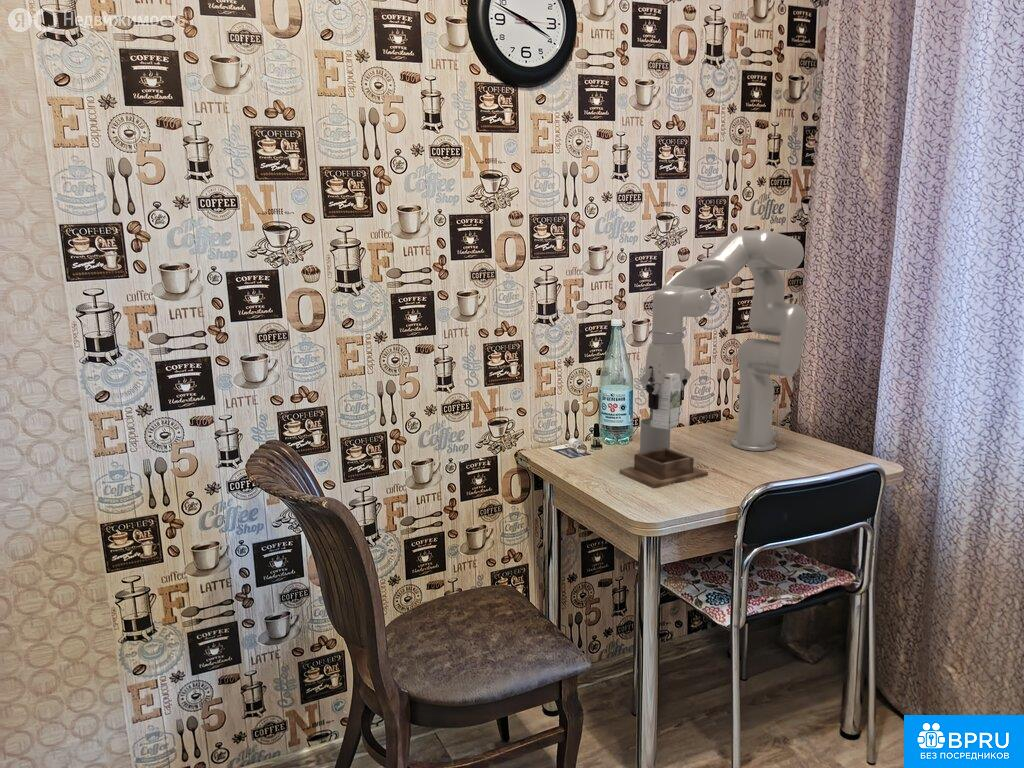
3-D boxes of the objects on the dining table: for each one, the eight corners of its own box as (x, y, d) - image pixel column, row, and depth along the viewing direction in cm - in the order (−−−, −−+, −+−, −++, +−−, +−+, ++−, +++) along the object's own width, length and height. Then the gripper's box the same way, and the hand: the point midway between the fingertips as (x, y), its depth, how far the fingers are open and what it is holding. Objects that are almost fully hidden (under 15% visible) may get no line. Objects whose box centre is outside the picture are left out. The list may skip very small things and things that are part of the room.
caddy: (671, 461, 208) (671, 444, 207) (707, 475, 197) (708, 457, 196) (619, 473, 200) (619, 455, 199) (654, 488, 188) (654, 469, 187)
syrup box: (659, 422, 199) (661, 368, 196) (680, 425, 196) (681, 370, 193) (648, 426, 195) (650, 371, 192) (669, 430, 191) (671, 374, 188)
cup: (642, 460, 210) (643, 425, 208) (637, 451, 218) (637, 418, 216) (672, 459, 210) (673, 425, 208) (666, 451, 219) (667, 417, 216)
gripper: (682, 334, 198) (680, 399, 202) (630, 339, 190) (629, 408, 193) (703, 337, 192) (700, 405, 195) (650, 343, 183) (648, 414, 187)
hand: (664, 406), depth 194 cm, fingers closed on syrup box, 7 cm apart
